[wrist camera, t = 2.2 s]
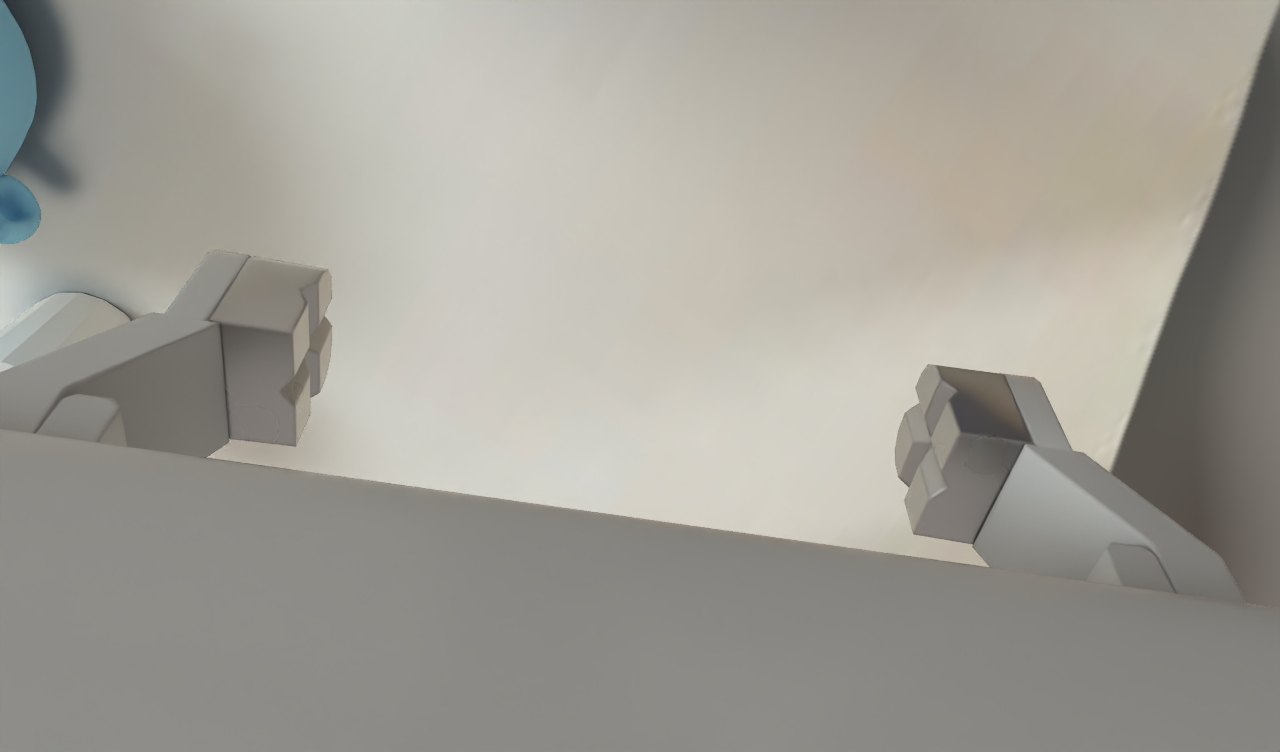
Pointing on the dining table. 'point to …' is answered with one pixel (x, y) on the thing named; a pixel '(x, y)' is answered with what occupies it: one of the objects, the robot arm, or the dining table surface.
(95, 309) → the shot glass
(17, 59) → the decorative pot
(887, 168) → the dining table surface
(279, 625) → the robot arm
